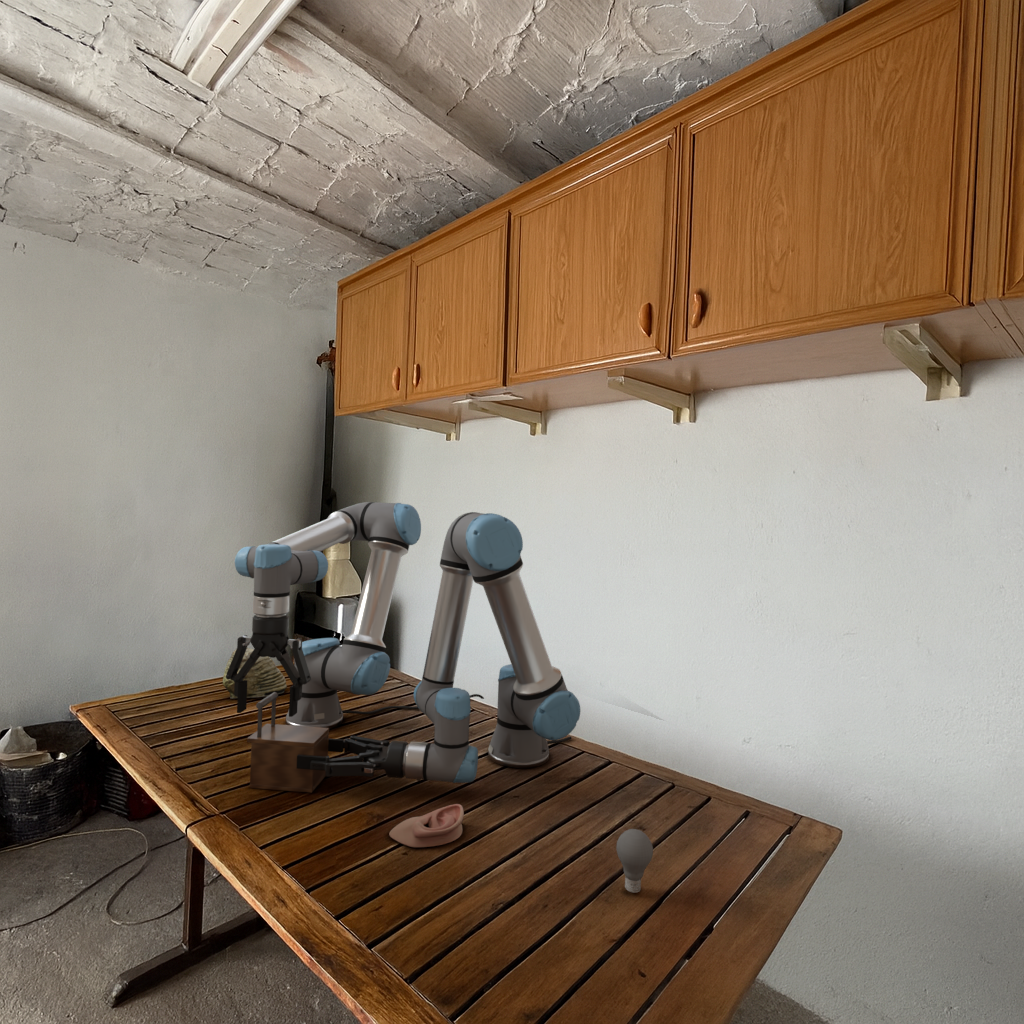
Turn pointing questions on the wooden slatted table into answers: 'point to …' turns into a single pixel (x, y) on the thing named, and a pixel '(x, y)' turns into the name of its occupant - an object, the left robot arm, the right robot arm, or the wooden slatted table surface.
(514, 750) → the right robot arm
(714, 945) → the wooden slatted table surface
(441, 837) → the anatomical model
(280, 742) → the lid
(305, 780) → the chest
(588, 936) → the wooden slatted table surface
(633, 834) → the light bulb
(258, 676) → the fossil
